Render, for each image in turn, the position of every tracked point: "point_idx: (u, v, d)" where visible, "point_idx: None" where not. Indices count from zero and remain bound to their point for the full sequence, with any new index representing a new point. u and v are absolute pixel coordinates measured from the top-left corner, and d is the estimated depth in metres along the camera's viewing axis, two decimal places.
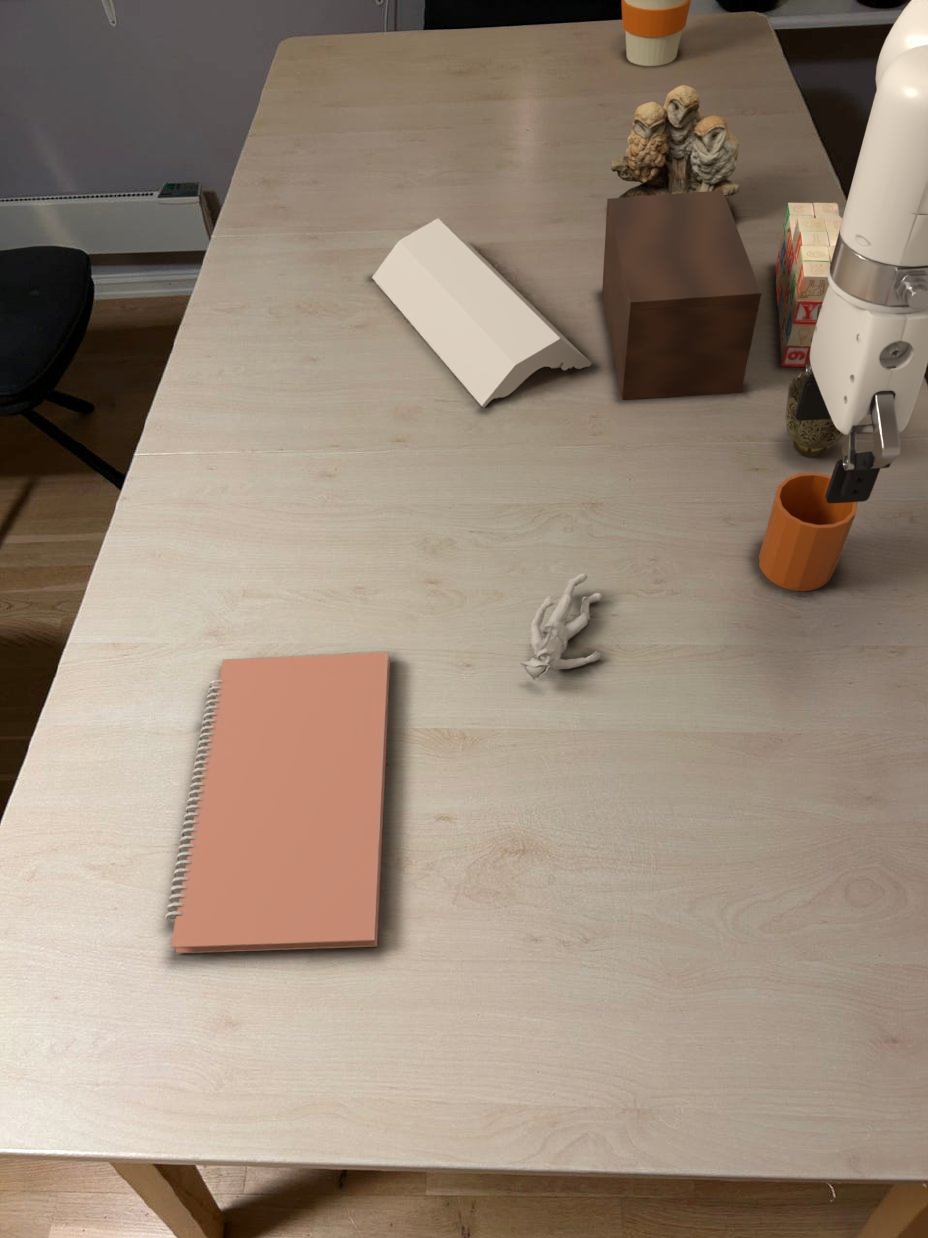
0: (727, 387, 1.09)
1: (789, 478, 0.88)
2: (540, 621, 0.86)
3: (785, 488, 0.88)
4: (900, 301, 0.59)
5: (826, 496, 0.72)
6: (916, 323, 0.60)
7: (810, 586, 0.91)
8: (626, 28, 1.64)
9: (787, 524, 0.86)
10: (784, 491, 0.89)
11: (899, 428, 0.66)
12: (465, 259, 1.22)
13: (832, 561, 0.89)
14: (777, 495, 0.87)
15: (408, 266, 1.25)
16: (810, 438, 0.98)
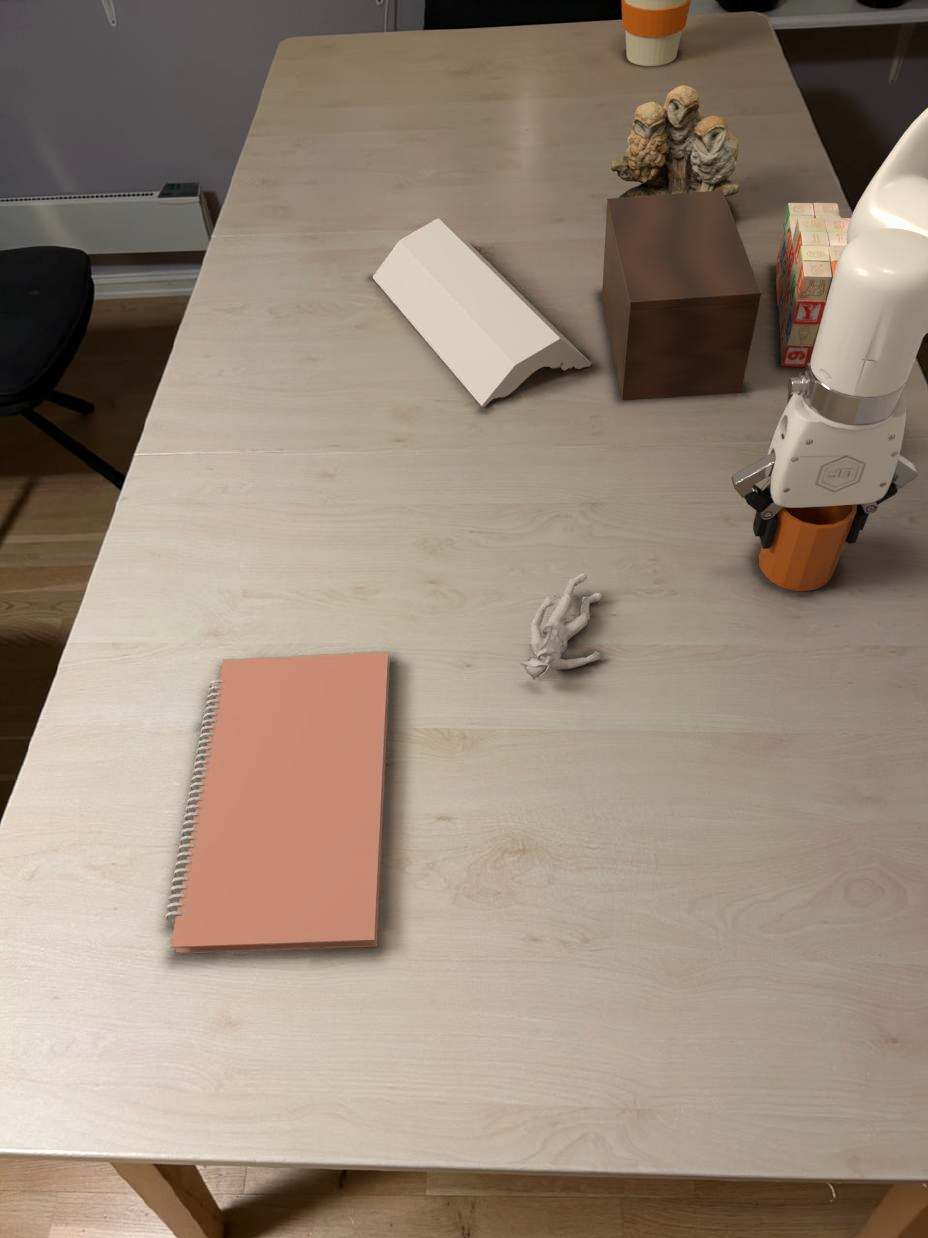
0: (727, 387, 1.09)
1: None
2: (539, 621, 0.86)
3: None
4: None
5: None
6: (794, 412, 0.77)
7: (810, 586, 0.91)
8: (626, 28, 1.64)
9: (787, 524, 0.86)
10: None
11: (772, 496, 0.83)
12: (465, 259, 1.22)
13: (832, 561, 0.89)
14: None
15: (408, 265, 1.25)
16: None
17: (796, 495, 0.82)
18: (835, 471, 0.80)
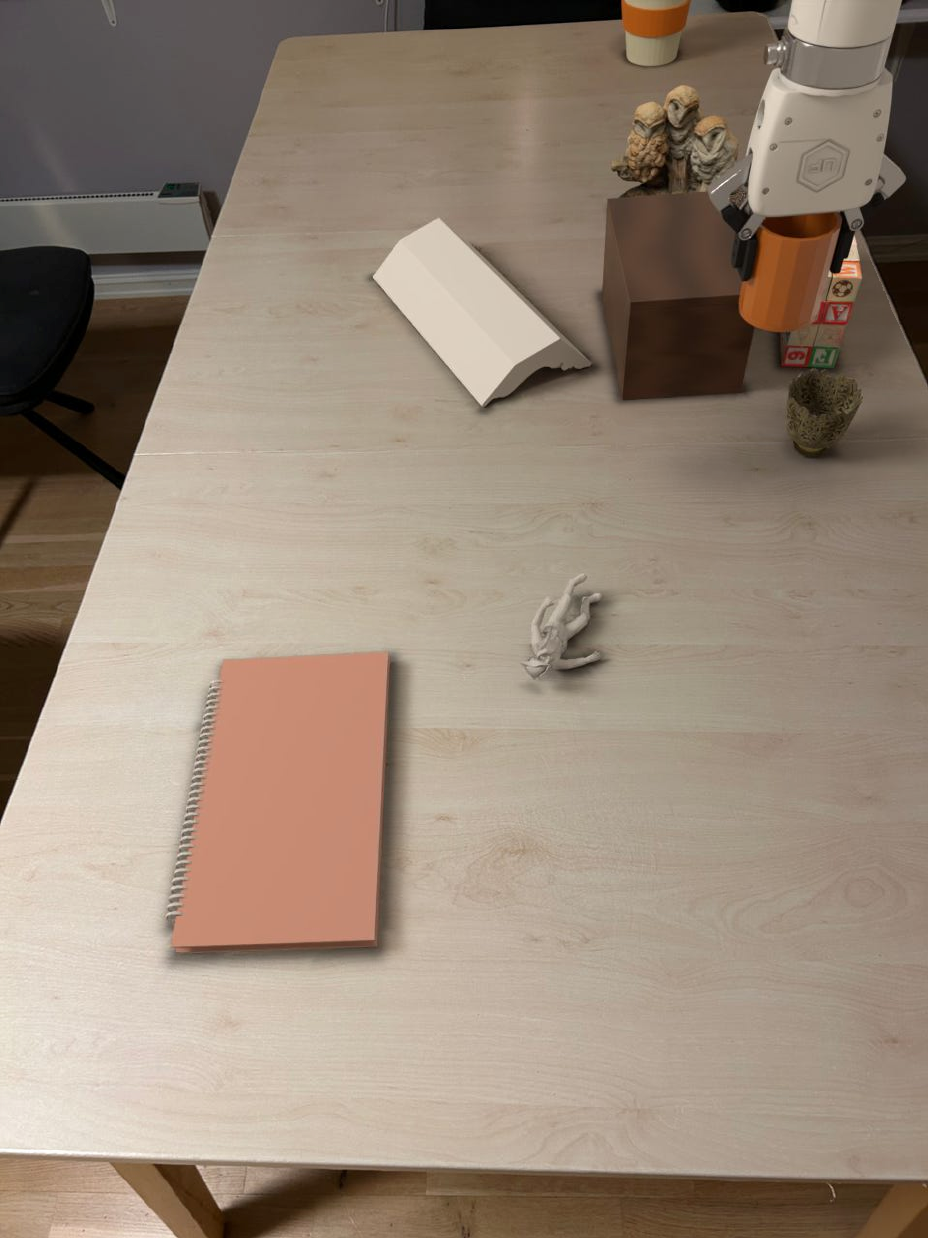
0: (727, 387, 1.09)
1: None
2: (539, 621, 0.86)
3: None
4: None
5: None
6: (771, 88, 0.71)
7: (793, 325, 0.85)
8: (626, 28, 1.64)
9: (767, 243, 0.80)
10: None
11: (750, 203, 0.77)
12: (466, 259, 1.22)
13: (816, 292, 0.83)
14: None
15: (409, 265, 1.25)
16: (810, 438, 0.98)
17: (776, 197, 0.76)
18: (817, 162, 0.74)
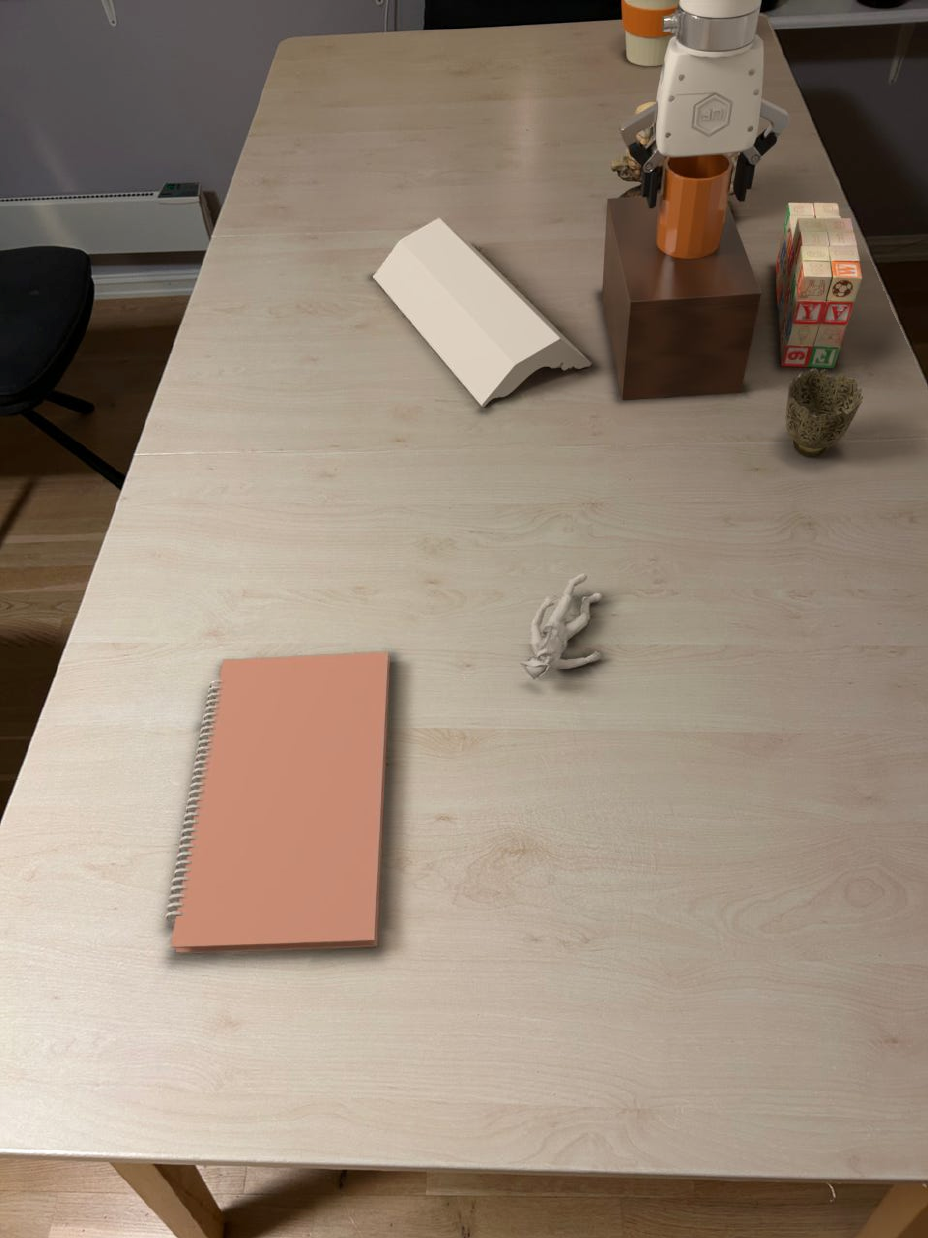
0: (727, 387, 1.09)
1: None
2: (540, 621, 0.86)
3: (674, 160, 1.02)
4: None
5: None
6: (668, 51, 0.90)
7: (698, 253, 1.04)
8: (626, 28, 1.64)
9: (672, 183, 0.99)
10: (673, 164, 1.02)
11: (657, 145, 0.96)
12: (466, 259, 1.22)
13: (715, 224, 1.02)
14: (665, 161, 1.00)
15: (409, 265, 1.25)
16: (810, 438, 0.98)
17: (676, 140, 0.95)
18: (707, 111, 0.93)
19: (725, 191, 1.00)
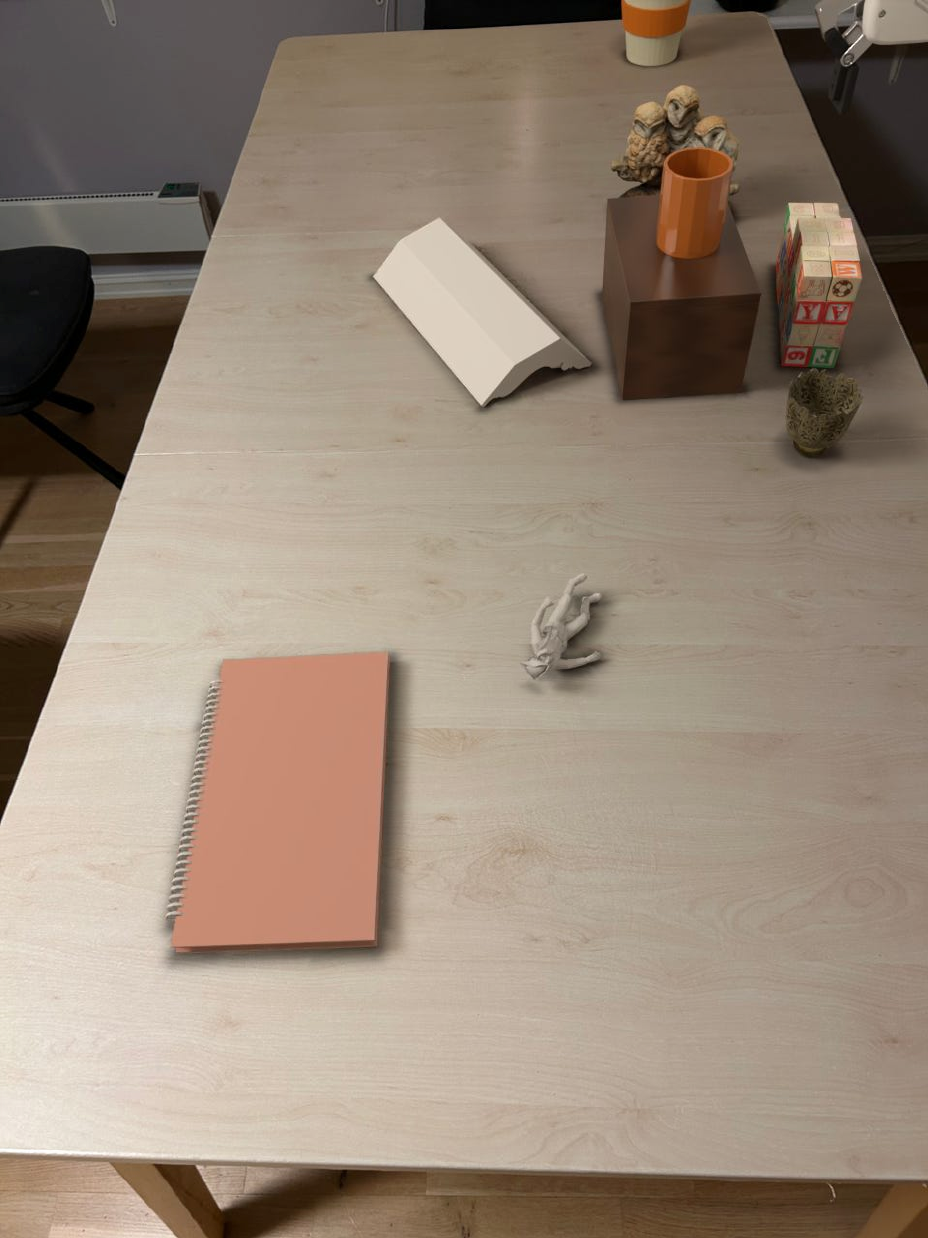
0: (727, 387, 1.09)
1: (677, 151, 1.02)
2: (539, 621, 0.86)
3: (674, 160, 1.02)
4: None
5: None
6: None
7: (698, 253, 1.04)
8: (626, 28, 1.64)
9: (672, 183, 0.99)
10: (673, 164, 1.02)
11: (864, 29, 0.77)
12: (466, 259, 1.22)
13: (715, 224, 1.02)
14: (665, 161, 1.00)
15: (409, 265, 1.25)
16: (810, 438, 0.98)
17: (892, 21, 0.76)
18: None
19: (725, 191, 1.00)
